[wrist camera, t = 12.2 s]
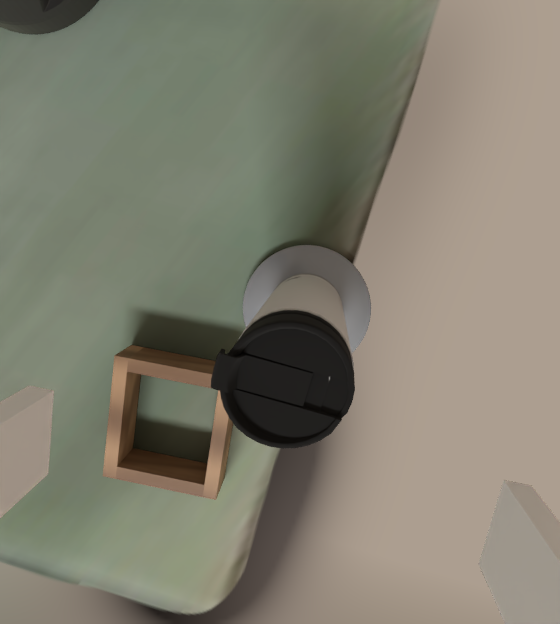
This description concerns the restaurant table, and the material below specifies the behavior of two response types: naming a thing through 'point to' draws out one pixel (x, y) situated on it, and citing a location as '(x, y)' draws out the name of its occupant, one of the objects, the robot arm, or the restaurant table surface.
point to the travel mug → (290, 366)
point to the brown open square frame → (122, 421)
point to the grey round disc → (319, 264)
